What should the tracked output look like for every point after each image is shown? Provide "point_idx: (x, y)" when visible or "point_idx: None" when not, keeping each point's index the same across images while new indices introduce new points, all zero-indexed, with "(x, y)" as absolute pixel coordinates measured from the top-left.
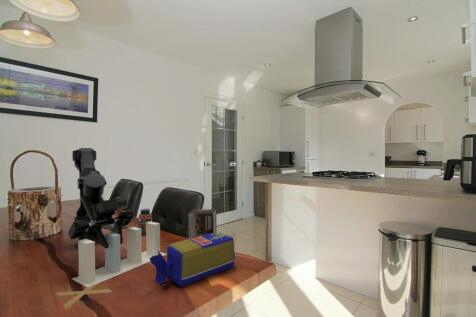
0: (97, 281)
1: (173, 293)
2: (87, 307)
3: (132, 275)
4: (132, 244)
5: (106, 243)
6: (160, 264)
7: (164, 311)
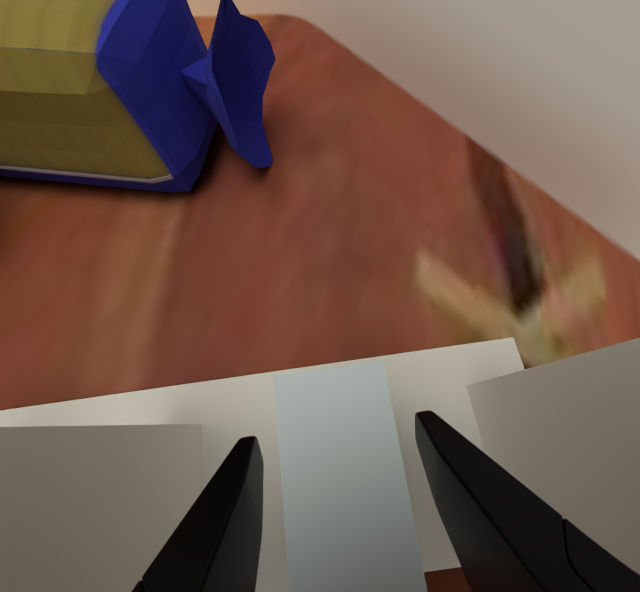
0: (457, 367)
1: (264, 95)
2: (524, 207)
3: (284, 327)
4: (125, 495)
5: (449, 435)
6: (216, 115)
7: (340, 47)
